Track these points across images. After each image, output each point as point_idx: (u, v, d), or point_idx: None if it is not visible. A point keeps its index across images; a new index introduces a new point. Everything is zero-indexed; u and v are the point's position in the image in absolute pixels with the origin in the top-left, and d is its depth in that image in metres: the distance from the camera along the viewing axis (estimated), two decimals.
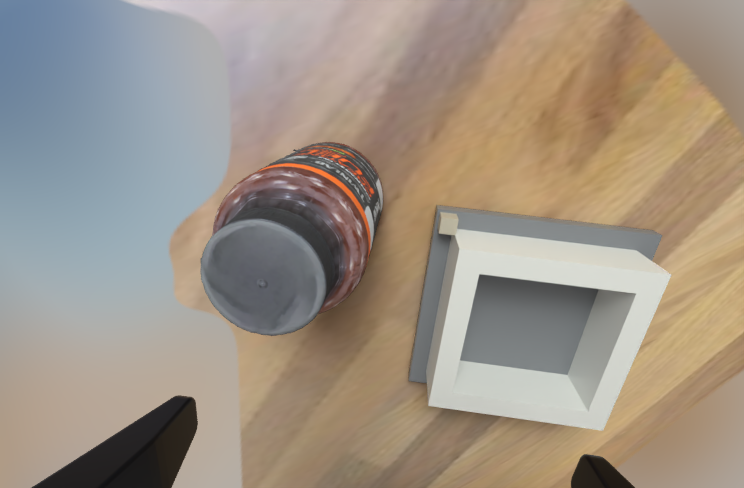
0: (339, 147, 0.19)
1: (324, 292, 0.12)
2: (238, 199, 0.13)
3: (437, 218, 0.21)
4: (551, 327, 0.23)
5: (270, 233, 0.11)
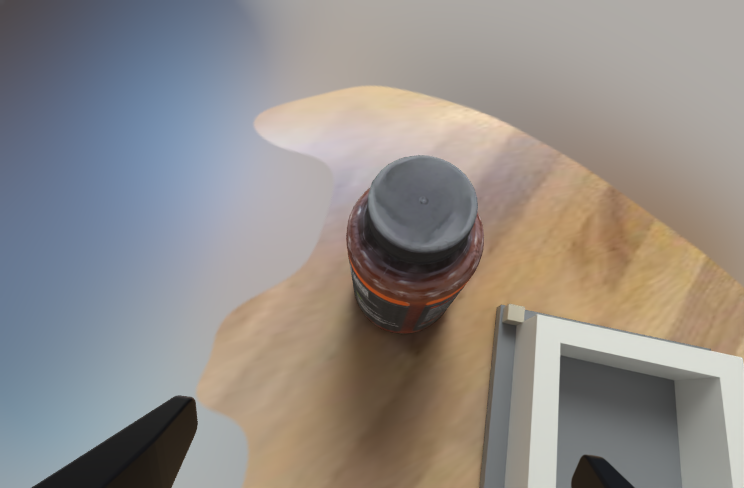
0: None
1: (476, 213, 0.13)
2: None
3: (501, 313, 0.23)
4: (642, 458, 0.20)
5: (438, 163, 0.14)
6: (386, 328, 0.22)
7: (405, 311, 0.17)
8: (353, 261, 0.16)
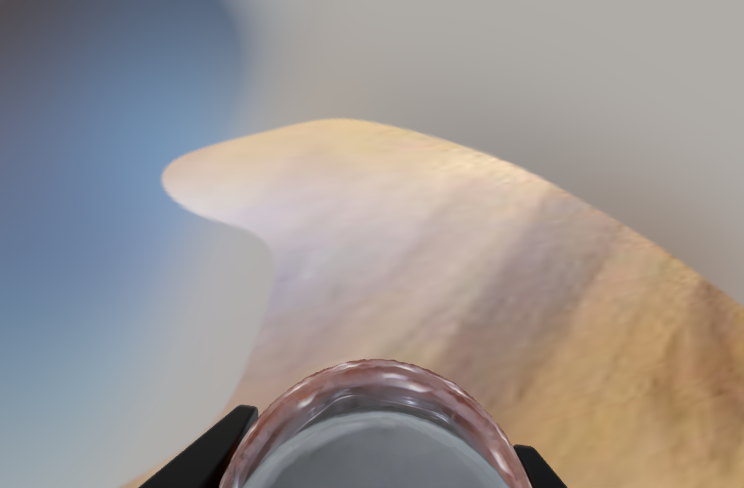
0: None
1: None
2: (309, 401, 0.07)
3: None
4: None
5: (429, 450, 0.05)
6: None
7: None
8: None
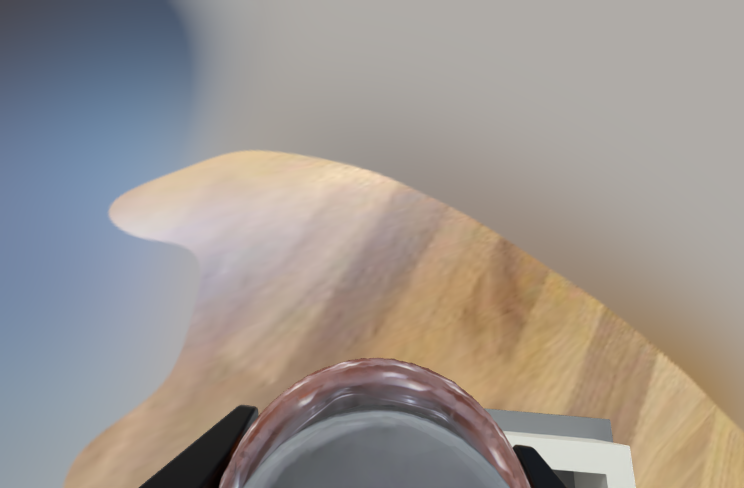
0: None
1: None
2: (309, 400, 0.07)
3: None
4: None
5: (429, 448, 0.05)
6: None
7: None
8: None
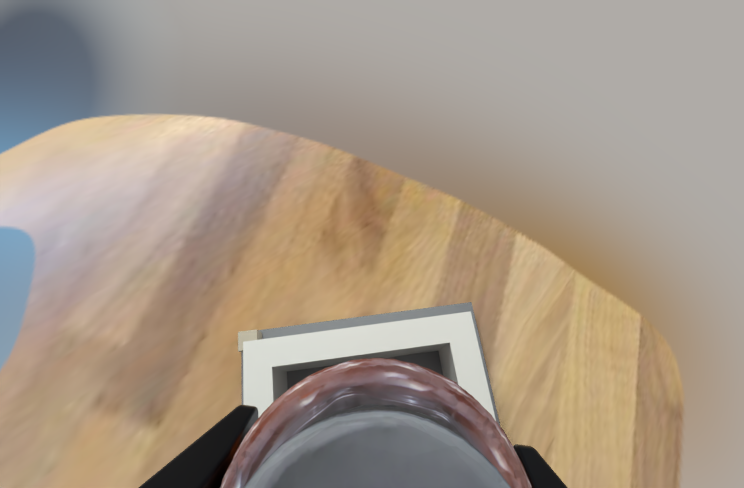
0: None
1: None
2: (310, 400, 0.07)
3: None
4: None
5: (430, 449, 0.05)
6: None
7: None
8: None
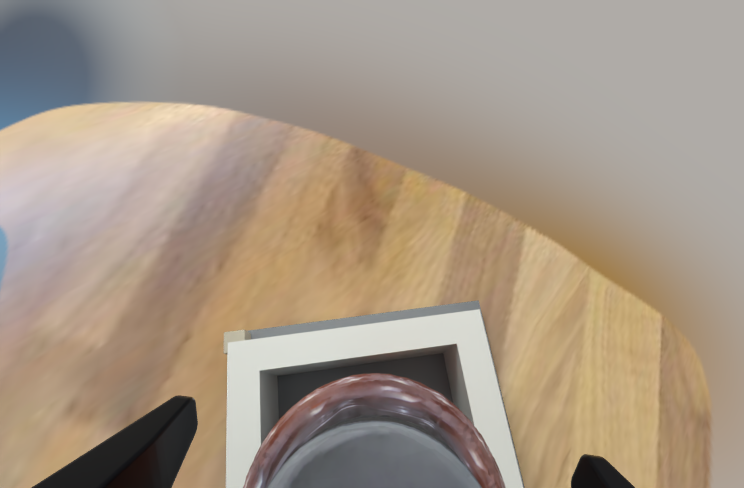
0: None
1: None
2: (319, 410, 0.08)
3: None
4: None
5: (414, 451, 0.06)
6: None
7: None
8: None
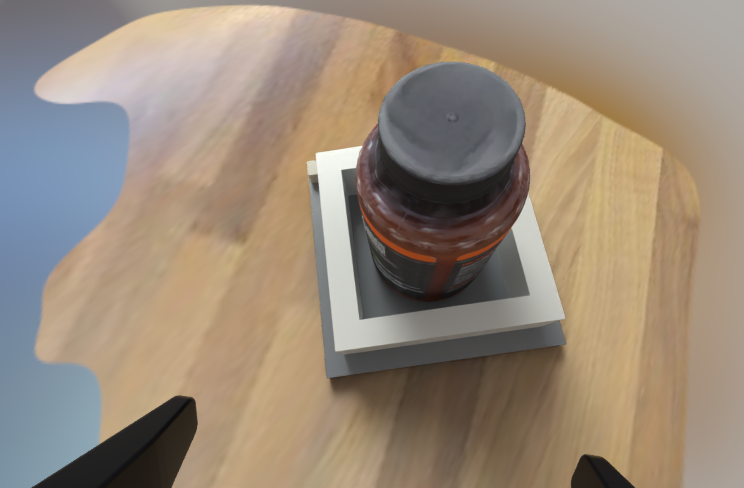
0: None
1: (523, 130, 0.10)
2: None
3: None
4: None
5: (470, 69, 0.11)
6: (409, 295, 0.19)
7: (431, 270, 0.14)
8: (364, 208, 0.13)
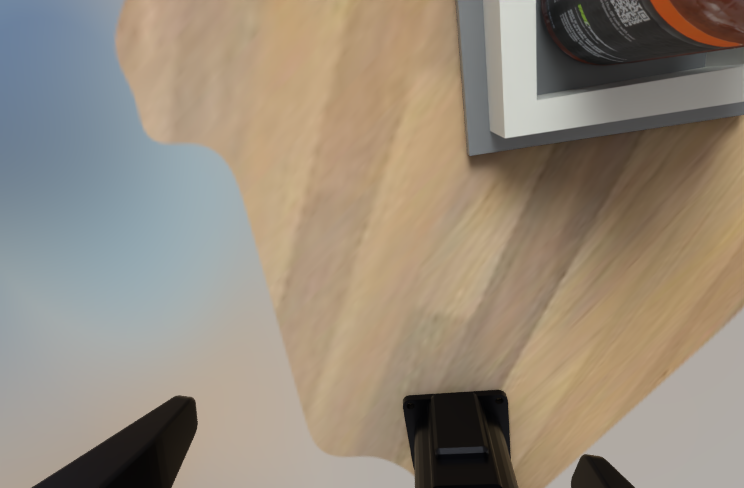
0: None
1: None
2: None
3: None
4: None
5: None
6: (589, 61, 0.15)
7: (696, 51, 0.10)
8: None
